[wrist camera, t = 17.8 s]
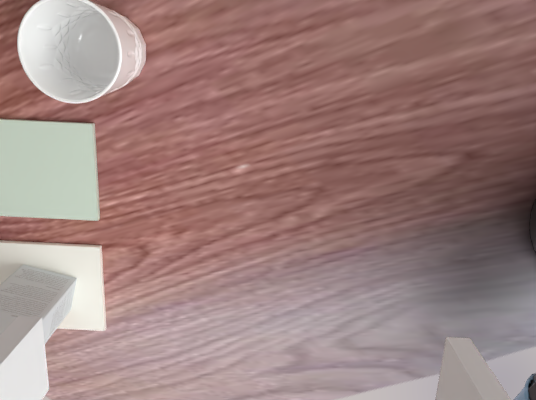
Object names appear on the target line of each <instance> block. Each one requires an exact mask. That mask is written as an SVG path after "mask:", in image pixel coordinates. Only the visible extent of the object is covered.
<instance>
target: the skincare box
mask: <svg viewBox="0 0 536 400" xmlns="http://www.w3.org/2000/svg"><path fill="white" fill-rule="evenodd" d="M76 281H77V278H75V277H71V276H67V275H63V274H59V273H55V272H51V271H47V270H43V269H39V268H36V267H32V266H28V265H22V266H20V267H19V268H18V269H17V270H16V271H15V272H14V273H12V274H11V275H10V276H9V277H8V278H7V279H6V280H5V281H3V282H2V283H1V284H0V335H1V334H2V333H3V332H4V331H5V330H6V328H7V327H8V326H9V325H10V324H11V323H12V322H13V321H14V320H15V319H16V318H17V317H18V316H26V317H42V323H43V332H44V342H45V343H46V342H47V341H48V339H49V338H50V337H51V335H52V334H53V333H54V331H55V330H56V329H57V327H58V326H59V325H60V323H61V322H62V321H63V319H64V318H65V317H66V316H67V314H68V313H69V312H70V310H71V308H72V301H73V296H74V291H75V286H76Z"/></svg>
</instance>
